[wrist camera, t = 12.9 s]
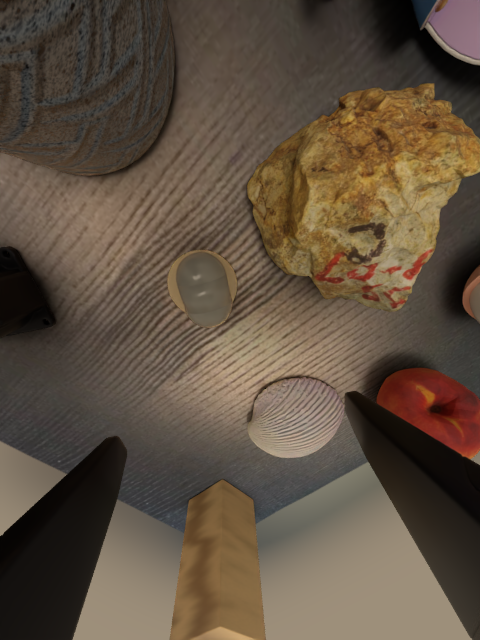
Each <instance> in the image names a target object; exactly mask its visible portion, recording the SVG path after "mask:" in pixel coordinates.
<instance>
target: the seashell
mask: <svg viewBox="0 0 480 640" xmlns="http://www.w3.org/2000/svg"><path fill="white" fill-rule="evenodd" d="M254 404H255V405H254V410H253V416H252V420H251V421H250V422H249V423H248V426H247V430H248V434H249V436H250V438H251V439H252V441H253V442H254V443H255V444H256V445H257V446H258V447H259V448H260V449H262V450H263V451H265V452H267V453H269V454H271V455H274V456H278V457H282V458H295V457H303V456H306V455H309V454H311V453H313V452H315V451H317V450H318V449H320V448H321V447H322V446H324V445H325V444H326V443H327V442H328V441H329V440H330V439H331V438H332V437H333V436H334V434H335V433H336V431H337V429H338V428H339V426H340V424H341V420H342V419H343V413H344V409H343V404H342V400H340V396H339V395H337V394H336V391H335V390H334V389H332V388H331V387H330V386H327V385H326V383H322V382H321V381H317V380H316V379H315V380H312V378H308V379H306V377H303V378H302V379H299V378H295V379H294V378H290V379H289V380H286V379H284V380H282V381H278V382H277V383H273V384H272V385H271V386H268V387H267V388H266V389H264V390H263V391H262V393H261V394H259V395H258V398H257V399H256V400H255V402H254Z"/></svg>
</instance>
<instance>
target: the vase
mask: <svg viewBox="0 0 480 640" xmlns="http://www.w3.org/2000/svg"><path fill="white" fill-rule="evenodd" d="M174 66H175V55H174V41H173V33H172V26H171V21H170V16H169V12H168V7H167V4H166V0H0V152H2V153H5V154H8V155H11V156H14V157H17V158H19V159H22V160H25V161H28V162H31V163H34V164H37V165H41V166H44V167H47V168H51V169H54V170H58V171H61V172H65V173H69V174H75V175H85V176H88V175H101V174H106V173H110V172H114V171H117V170H119V169H121V168H124V167H126V166H128V165H130V164H131V163H133V162H135V161H136V160H137V159H138V158H140V157H141V156H142V155H143V154H144V153H145V152H146V151H147V150H148V149H149V148H150V146H151V145H152V144H153V143H154V141H155V140H156V138H157V136H158V135H159V133H160V131H161V129H162V127H163V125H164V122H165V119H166V117H167V114H168V110H169V106H170V102H171V97H172V91H173V82H174Z"/></svg>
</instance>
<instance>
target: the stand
mask: <svg viewBox="0 0 480 640" xmlns="http://www.w3.org/2000/svg"><path fill="white" fill-rule="evenodd" d="M258 560H259V559H258V548H257V536H256V526H255V514H254V503H253V499H251V498H250V497H249V496H247V495H246V494H244V493H243V492H241V491H240V490H238V489H237V488H235V487H234V486H232V485H231V484H229V483H228V482H226V481H225V480H223V479H222V480H221V481H219V482H217V483H216V484H214V485H213V486H211V487H209V488H208V489H206V490H205V491H203V492H201V493H200V494H198V495H197V496H195V497H193V498H192V499H190V500H189V504H188V511H187V518H186V526H185V533H184V541H183V547H182V555H181V562H180V569H179V576H178V583H177V591H176V598H175V605H174V613H173V619H172V628H171V634H170V640H266V637H265V626H264V615H263V605H262V593H261V581H260V570H259V561H258Z"/></svg>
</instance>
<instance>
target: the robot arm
mask: <svg viewBox="0 0 480 640" xmlns="http://www.w3.org/2000/svg"><path fill="white" fill-rule="evenodd" d="M7 252H9V253H10V256H9V255H8V254H7ZM46 319H47V320H48V321H49V322H47V321H46ZM55 323H56V320H55V318H54V316H53V314H52V313H51V311H50V309H49V307H48V306H47V304H46V302H45V300H44V298H43V297H42V295H41V293H40V291H39V290H38V288H37V286H36V284H35V283H34V281H33V279H32V277H31V275H30V274H29V272H28V270H27V268H26V267H25V265H24V263H23V261H22V260H21V258H20V256H19V254H18V252H17V251H16V250H15V249H14V248H12V247H2V248H0V338H2V337H4V336H9V335H14V334H19V333H24V332H29V331H34V330H38V329H43V328H48V327H51V326H53V325H54V324H55ZM345 411H346V414H347V417H348V419H349V421H350V423H351V426H352V428H353V430H354V432H355V435H356V437H357V439H358V441H359V443H360V446H361V448H362V450H363V452H364V454H365V456H366V458H367V460H368V462H369V463H370V465H371V467H372V469H373V470H374V472H375V474H376V476H377V477H378V479H379V481H380V482H381V484H382V486H383V488H384V489H385V491H386V493H387V495H388V496H389V498H390V500H391V501H392V503H393V505H394V507H395V508H396V510H397V512H398V513H399V515H400V517H401V519H402V520H403V522H404V524H405V526H406V527H407V529H408V531H409V533H410V534H411V536H412V538H413V539H414V541H415V543H416V545H417V546H418V548H419V550H420V552H421V553H422V555H423V557H424V558H425V560H426V562H427V564H428V565H429V567H430V569H431V570H432V572H433V574H434V576H435V577H436V579H437V581H438V583H439V584H440V586H441V588H442V589H443V591H444V593H445V595H446V596H447V598H448V600H449V602H450V603H451V605H452V607H453V609H454V610H455V612H456V614H457V615H458V617H459V619H460V621H461V622H462V624H463V626H464V627H465V629H466V631H467V633H468V634H469V636H470V637H471V638H472V640H480V465H479V464H477V463H475V462H474V461H472V460H470V459H469V458H467V457H465V456H463V457H462V455H461V454H460V453H458V452H457V451H455V450H453V449H452V448H450V447H449V446H447V445H445V444H444V443H442V442H440V441H439V440H437V439H435V438H434V437H432V436H430V435H429V434H427V433H425V432H424V431H422V430H420V429H419V428H417V427H415V426H414V425H412V424H410V423H409V422H407V421H405V420H404V419H402V418H400V417H399V416H397V415H395V414H394V413H392V412H390V411H389V410H387V409H385V408H384V407H382V406H380V405H379V404H377V403H376V402H374V401H372V400H371V399H369V398H367V397H366V396H364V395H362V394H361V393H359V392H357V391H352V392H347V393H345ZM126 458H127V449H126V447H125V446H124V444H123V442H122V441H121V439H120V437H118V436H113V437H108V438H106V439H105V440H104V441H103V442H102V443H101V444H100V445H99V446H97V447H96V448H95V449H94V450H93V451H92V452H91V453H90V454H89V455H88V456H87V457H86V458H84V459H83V460H82V461H81V462H80V463H79V464H78V465H77V466H76V467H75V468H74V469H73V470H71V471H70V472H69V473H68V474H67V475H66V476H65V477H64V478H63V479H62V480H61V481H60V482H58V483H57V484H56V485H55V486H54V487H53V488H52V489H51V490H50V491H49V492H48V493H47V494H46V495H44V496H43V497H42V498H41V499H40V500H39V501H38V502H37V503H36V504H35V505H34V506H32V507H31V508H30V509H29V510H28V511H27V512H26V513H25V514H24V515H23V516H22V517H20V518H19V519H18V520H17V521H16V522H15V523H14V524H13V525H12V526H11V527H10V528H9V529H8V530H6V531H5V532H4V534H3V535H1V536H0V640H72V639H73V636H74V633H75V630H76V627H77V623H78V620H79V617H80V614H81V611H82V608H83V605H84V602H85V598H86V595H87V592H88V589H89V586H90V583H91V580H92V577H93V573H94V570H95V567H96V564H97V561H98V558H99V555H100V551H101V548H102V545H103V541H104V539H105V536H106V533H107V529H108V526H109V523H110V520H111V517H112V513H113V510H114V507H115V504H116V501H117V497H118V493H119V489H120V485H121V480H122V476H123V471H124V467H125V463H126Z"/></svg>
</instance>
